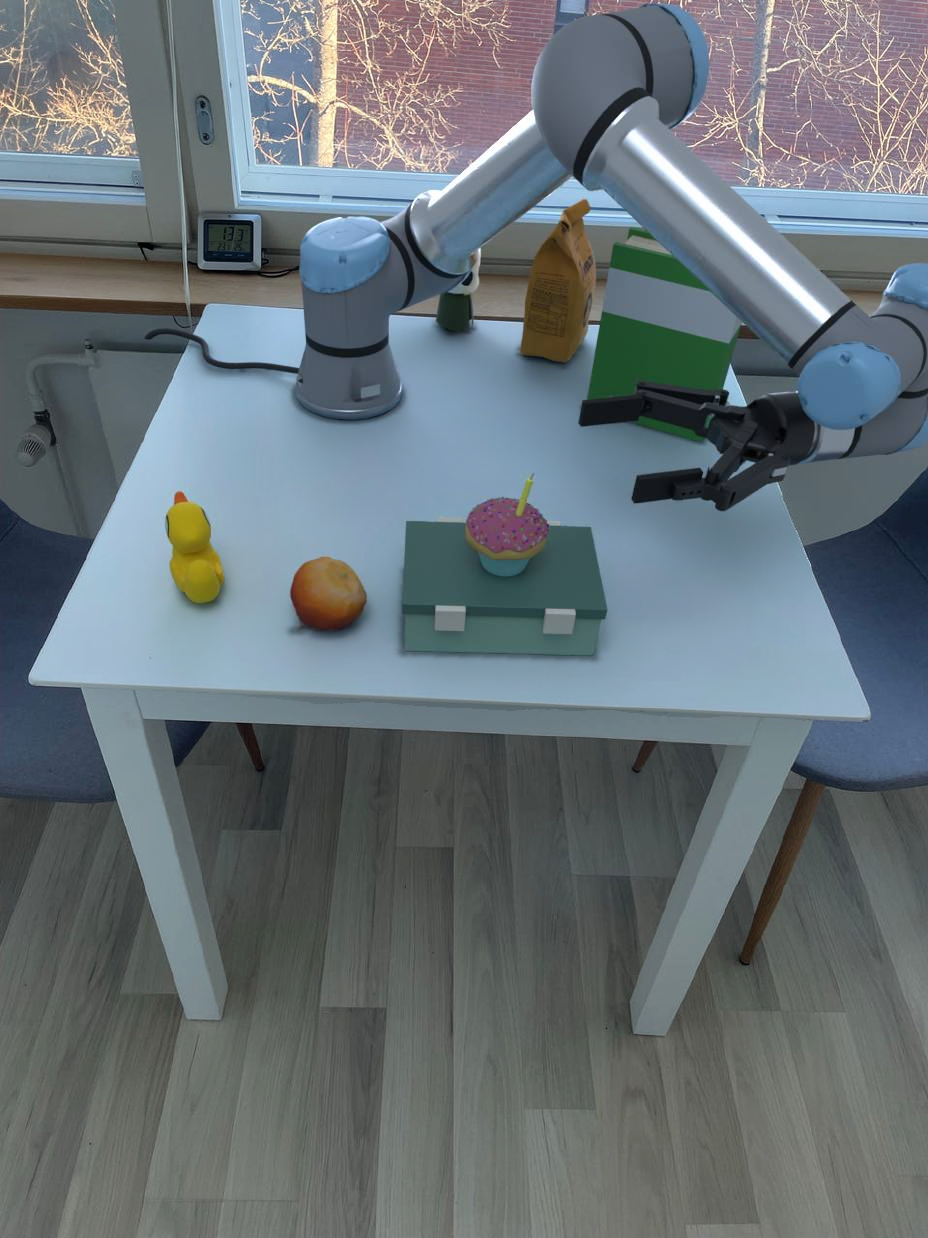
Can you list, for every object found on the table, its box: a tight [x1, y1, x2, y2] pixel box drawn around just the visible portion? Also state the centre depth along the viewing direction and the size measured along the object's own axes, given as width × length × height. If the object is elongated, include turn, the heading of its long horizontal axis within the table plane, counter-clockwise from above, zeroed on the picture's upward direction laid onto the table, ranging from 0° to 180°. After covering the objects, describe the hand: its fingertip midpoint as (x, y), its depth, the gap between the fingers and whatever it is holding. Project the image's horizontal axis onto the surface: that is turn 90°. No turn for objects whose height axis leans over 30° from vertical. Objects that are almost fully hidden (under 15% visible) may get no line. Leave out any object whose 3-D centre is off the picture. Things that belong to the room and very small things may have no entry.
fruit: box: [289, 556, 368, 632], centre depth 94 cm, size 8×8×8 cm
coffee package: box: [519, 198, 597, 363], centre depth 137 cm, size 10×12×22 cm
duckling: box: [164, 490, 225, 604], centre depth 95 cm, size 11×5×10 cm, turn 23°
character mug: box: [435, 248, 482, 332], centre depth 144 cm, size 11×7×13 cm, turn 148°
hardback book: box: [586, 226, 743, 443], centre depth 123 cm, size 18×7×24 cm, turn 64°
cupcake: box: [465, 472, 550, 577], centre depth 89 cm, size 9×8×12 cm
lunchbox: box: [401, 516, 608, 657], centre depth 96 cm, size 21×15×7 cm
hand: (606, 449), depth 87 cm, fingers open, 13 cm apart
